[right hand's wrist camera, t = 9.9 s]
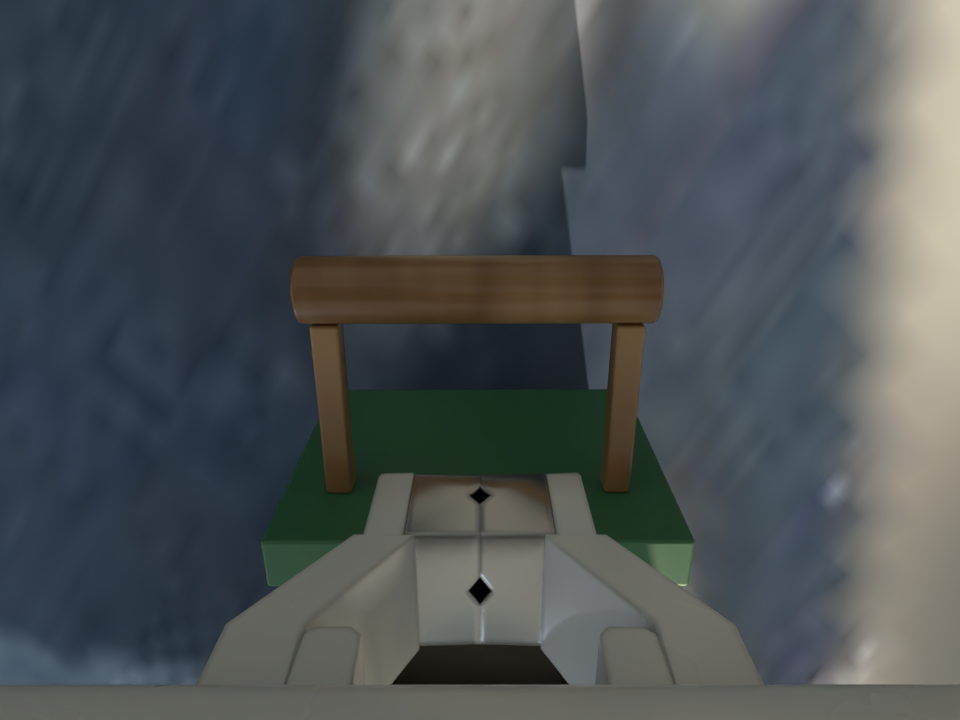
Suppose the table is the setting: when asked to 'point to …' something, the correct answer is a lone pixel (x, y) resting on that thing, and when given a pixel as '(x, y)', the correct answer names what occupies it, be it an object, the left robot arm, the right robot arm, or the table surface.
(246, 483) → the table surface
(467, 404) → the drawer
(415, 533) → the right robot arm
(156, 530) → the table surface
